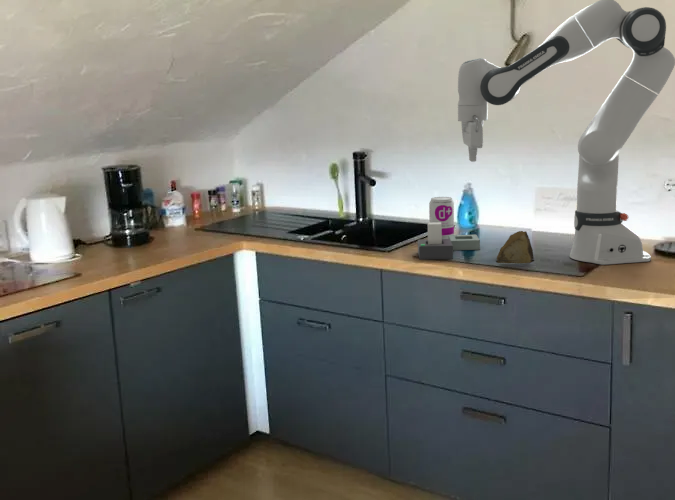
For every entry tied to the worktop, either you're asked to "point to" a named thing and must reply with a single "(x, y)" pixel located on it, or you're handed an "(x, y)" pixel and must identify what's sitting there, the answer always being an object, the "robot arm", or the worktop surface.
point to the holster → (465, 242)
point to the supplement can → (442, 214)
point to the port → (435, 250)
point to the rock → (516, 249)
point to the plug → (435, 233)
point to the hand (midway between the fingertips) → (472, 161)
